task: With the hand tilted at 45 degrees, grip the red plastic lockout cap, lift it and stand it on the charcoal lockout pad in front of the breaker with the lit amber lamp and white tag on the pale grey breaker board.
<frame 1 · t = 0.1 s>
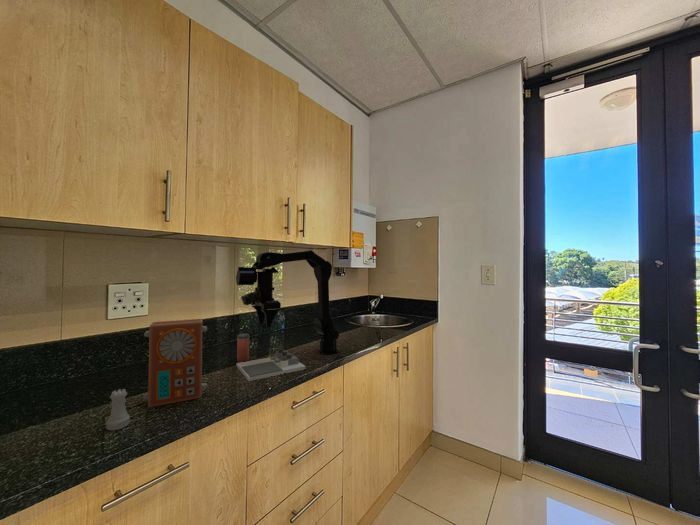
hand: (264, 325, 111), 15 cm above the worktop, tool pointing down, fingers open, 9 cm apart
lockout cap: (243, 360, 115), on the worktop
breaker board: (270, 367, 106), on the worktop
rook chess piece: (118, 427, 66), on the worktop
control panel: (176, 399, 80), on the worktop
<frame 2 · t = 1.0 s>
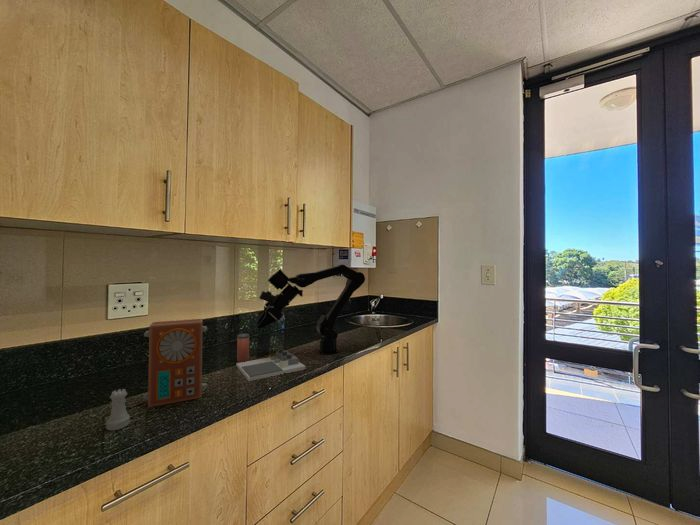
hand: (257, 325, 117), 13 cm above the worktop, tool tilted 45°, fingers open, 9 cm apart
nothing on the worktop moved.
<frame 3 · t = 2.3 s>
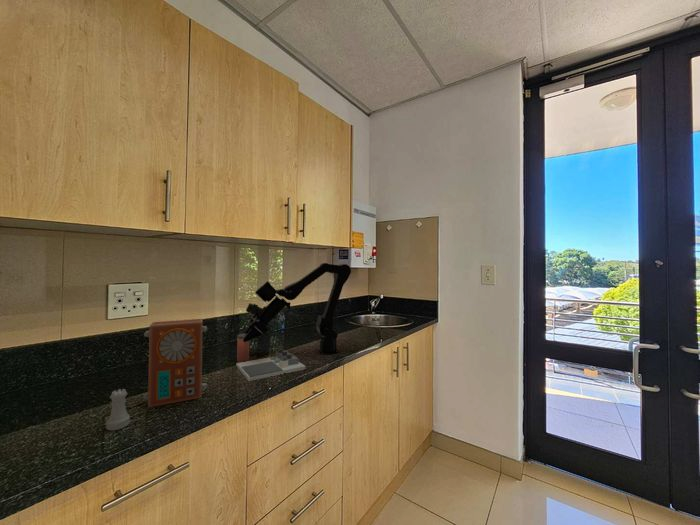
hand: (243, 338, 115), 9 cm above the worktop, tool tilted 45°, fingers open, 9 cm apart
nothing on the worktop moved.
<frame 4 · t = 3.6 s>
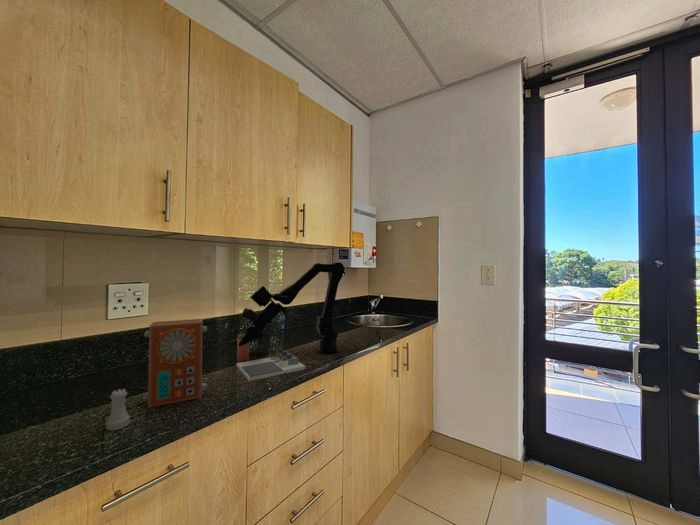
hand: (239, 343, 114), 7 cm above the worktop, tool tilted 45°, fingers closed on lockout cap, 4 cm apart
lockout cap: (243, 360, 115), on the worktop, touching gripper
everything else where it was.
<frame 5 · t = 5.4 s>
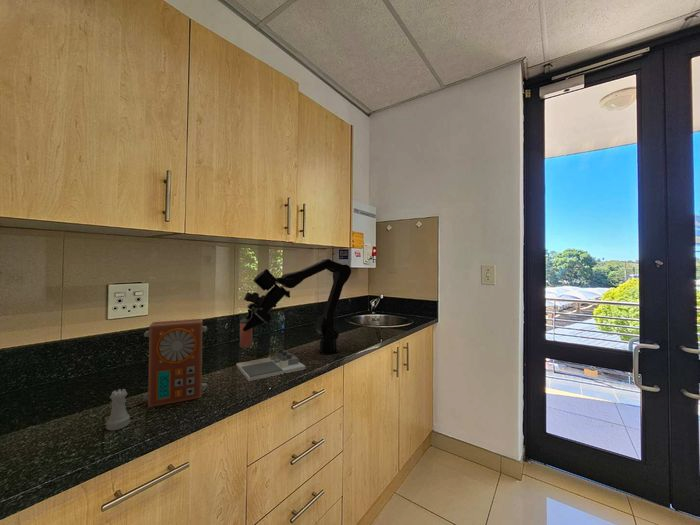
hand: (242, 329, 109), 13 cm above the worktop, tool tilted 45°, fingers closed on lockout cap, 4 cm apart
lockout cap: (246, 346, 110), point 7 cm above the worktop, touching gripper
everything else where it was.
when the fingers open (9 cm above the worktop, at t = 7.6 s): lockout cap drops 1 cm, resting on breaker board.
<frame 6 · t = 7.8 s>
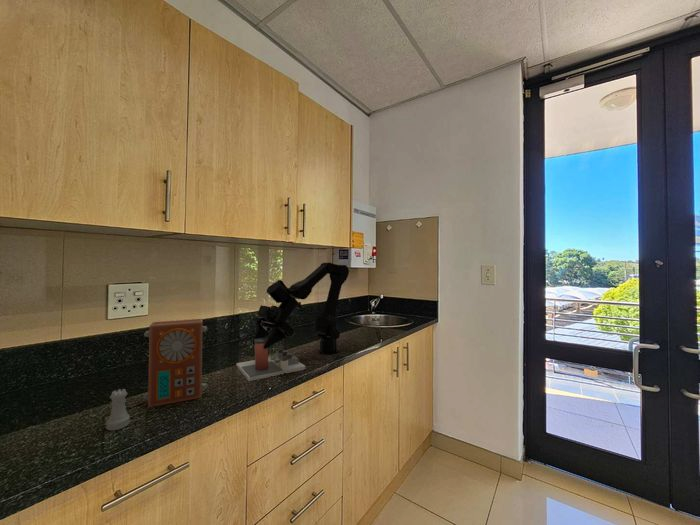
hand: (258, 346, 100), 9 cm above the worktop, tool tilted 45°, fingers open, 7 cm apart
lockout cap: (261, 367, 101), point 2 cm above the worktop, touching breaker board
everything else where it was.
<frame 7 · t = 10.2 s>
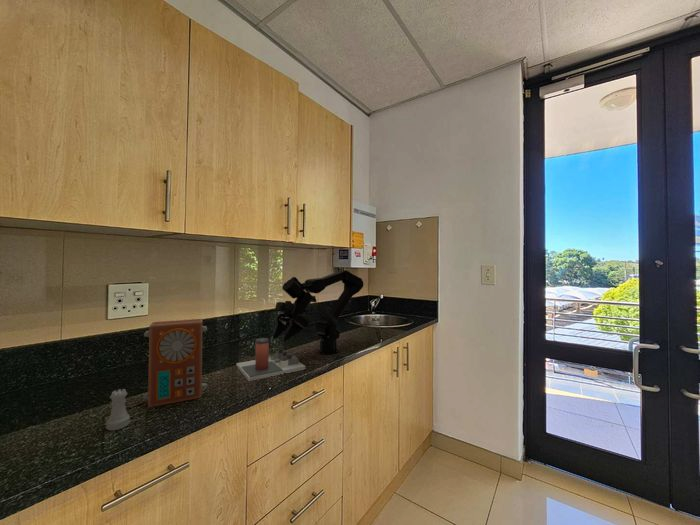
hand: (278, 339, 109), 10 cm above the worktop, tool tilted 40°, fingers open, 9 cm apart
nothing on the worktop moved.
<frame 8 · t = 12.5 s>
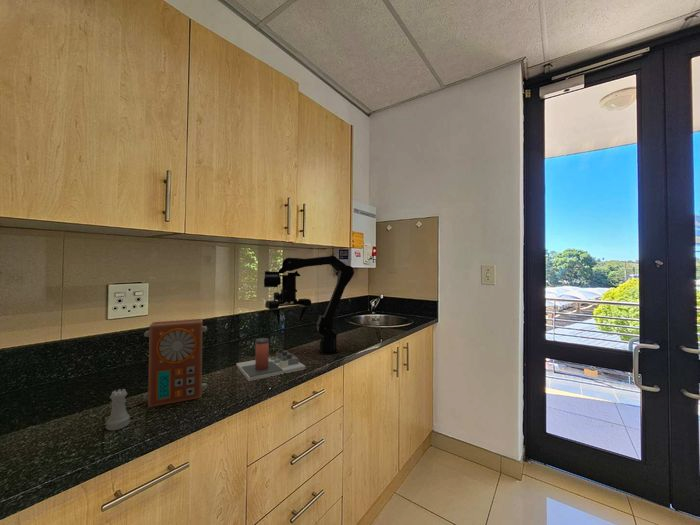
hand: (288, 323, 123), 13 cm above the worktop, tool pointing down, fingers open, 9 cm apart
nothing on the worktop moved.
at the end: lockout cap 0.0 cm from the target spot on the breaker board, point 1.5 cm above the breaker board's base; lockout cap tilted 0°; the gripper is holding nothing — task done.
